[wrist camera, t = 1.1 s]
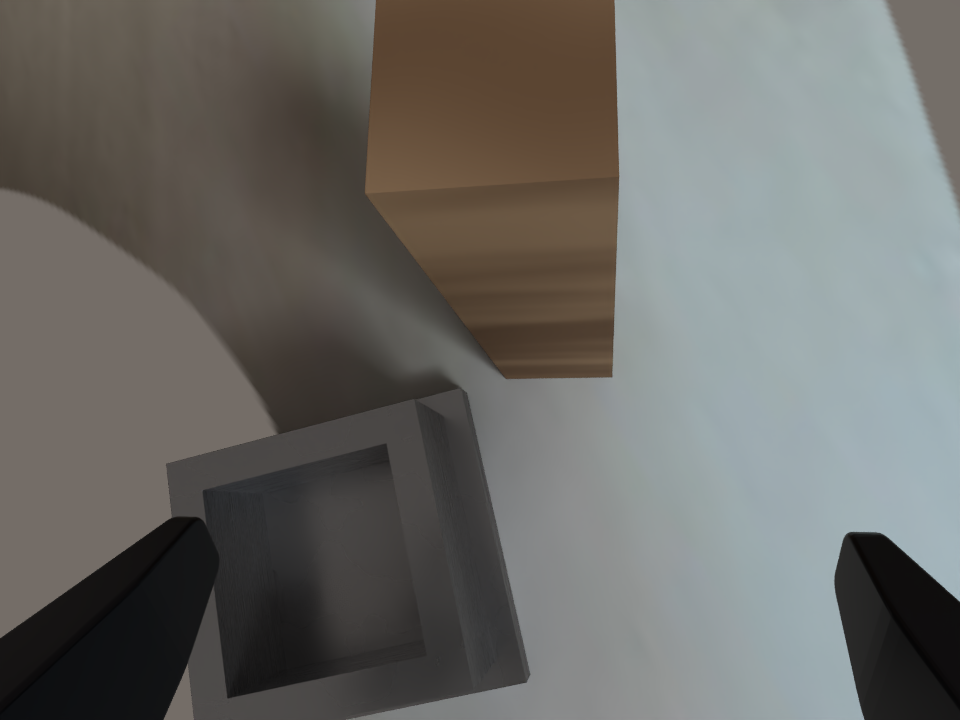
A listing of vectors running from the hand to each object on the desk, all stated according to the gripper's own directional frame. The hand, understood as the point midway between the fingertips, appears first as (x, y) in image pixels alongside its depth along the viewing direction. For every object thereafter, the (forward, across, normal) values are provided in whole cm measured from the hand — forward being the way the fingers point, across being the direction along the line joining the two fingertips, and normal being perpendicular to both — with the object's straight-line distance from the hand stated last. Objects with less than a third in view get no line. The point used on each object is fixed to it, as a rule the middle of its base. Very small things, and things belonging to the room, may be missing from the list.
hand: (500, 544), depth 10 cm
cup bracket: (+8, +6, +10) cm, 14 cm away
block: (+14, 0, +4) cm, 14 cm away
